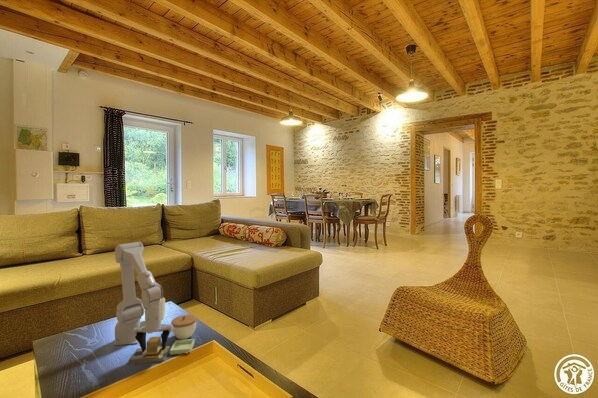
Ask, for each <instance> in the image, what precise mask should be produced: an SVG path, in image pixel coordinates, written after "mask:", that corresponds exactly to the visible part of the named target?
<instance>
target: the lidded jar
mask: <svg viewBox="0 0 598 398" xmlns="http://www.w3.org/2000/svg"><path fill="white" fill-rule="evenodd" d="M170 323H171V324H170V325H173V330H172V331H171V332H172V333H173V335H174V337H176V338H177V340H188V339H189V338H191V337H192V335H193V334H194V333H195V332H196V327H197V316H195V315H194V314H182V315H179V316H176V317H174V318H173V319H171V322H170Z"/></svg>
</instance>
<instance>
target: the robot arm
mask: <svg viewBox="0 0 598 398" xmlns="http://www.w3.org/2000/svg"><path fill="white" fill-rule="evenodd" d="M144 249H145V247H144V244H143V243H142V242H141V240H140V241H139V240H138V241H136V242H127V243H121V244H117V245H115V248H114V257H115V262H116V263H117V264H119V267H120V277H121V288H122V289H121V290H122V297H123V298H122V299H123V300H121V301H120V302H119V303H118V304H117V306H116V312H115V313H116V315H115V317H116V320H117V321H116V323H115V327H114V344H113V345H114V346H119V345H121V346H123V345H132V344H133V345H134V344H139V346H140V348H141V349H142V352H144V351H145V349H146V348H147V334H148V335H149V334H153V333H157V332H158V333H160V332H162V333H161V334H160V336H161V347H162V350H164V349H165V348H166V346H167V342H168V339H169V335H170V334H171V332H173V331H172V330H173V325H172V324H164V323H162V320H161V304H160V299H161V298H162V297H163V298H164V290H163V286H162V285H161V284H159V282H157V281H156V280H155V277H154V275H153V273H152V271H151V270H148V269H147V266H146V264H145V260H144V258H143V255H144ZM134 270H135V272H136V274H137V276H136V281H137V283H138V285H139V286H138V287H139V288H140V290H141V299H140V298H138V297H137V295H136V294H137V293H136V285H135V284H136V283H135V274H134V273H135V272H134ZM143 316H144V325H142V326H141V319H142V317H143Z"/></svg>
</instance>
